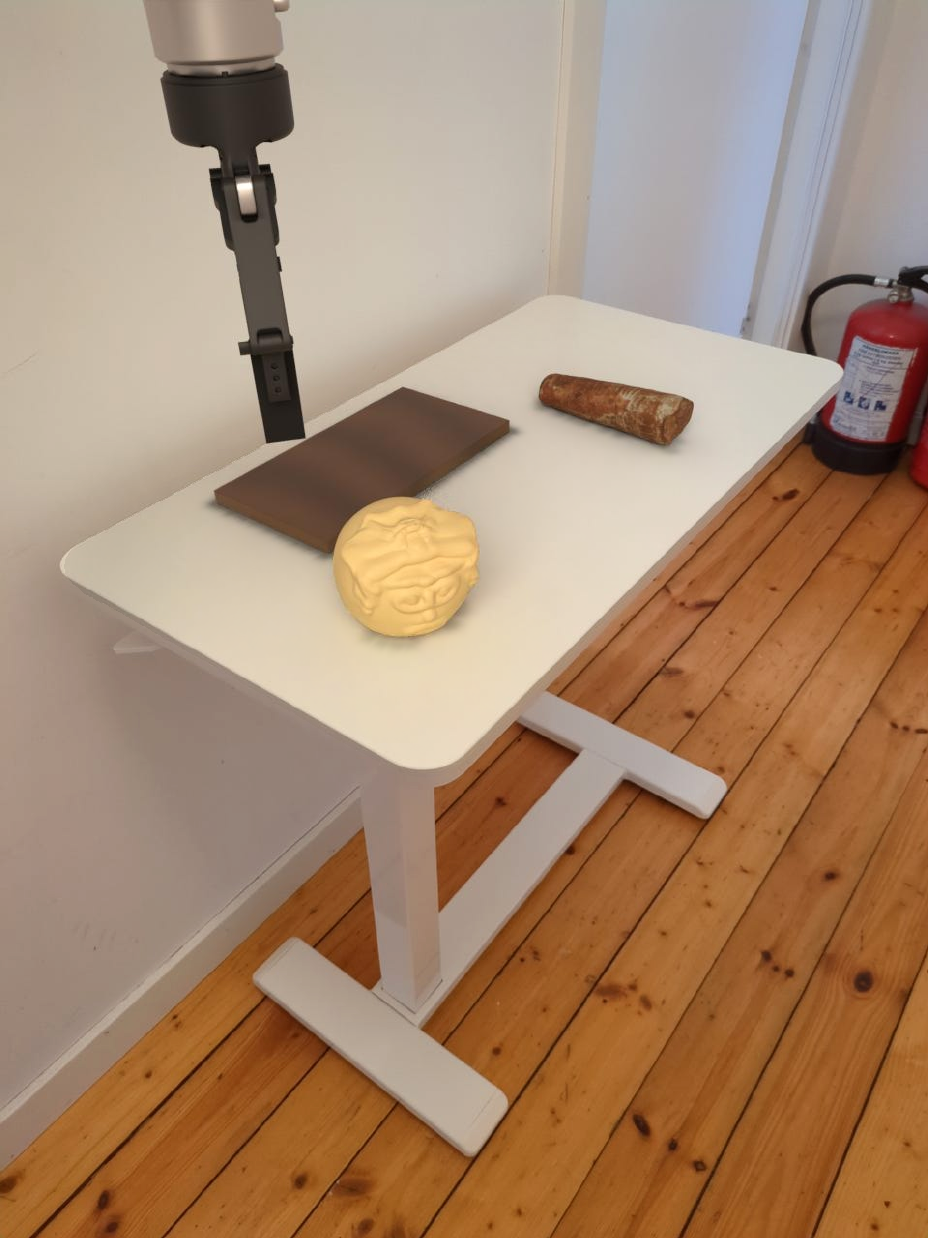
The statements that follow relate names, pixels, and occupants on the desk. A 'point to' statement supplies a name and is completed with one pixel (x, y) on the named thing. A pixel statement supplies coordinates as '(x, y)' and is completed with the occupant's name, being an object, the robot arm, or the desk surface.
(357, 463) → the cutting board
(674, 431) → the bread
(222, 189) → the robot arm
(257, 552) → the desk surface
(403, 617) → the sculpture
